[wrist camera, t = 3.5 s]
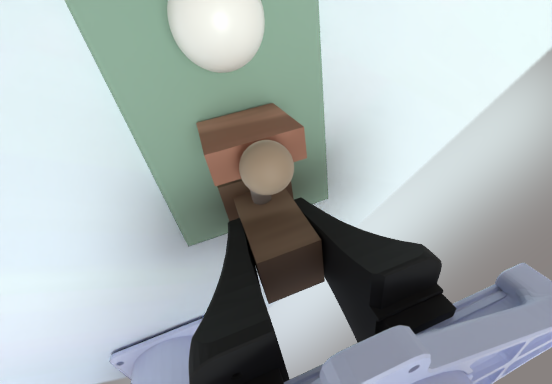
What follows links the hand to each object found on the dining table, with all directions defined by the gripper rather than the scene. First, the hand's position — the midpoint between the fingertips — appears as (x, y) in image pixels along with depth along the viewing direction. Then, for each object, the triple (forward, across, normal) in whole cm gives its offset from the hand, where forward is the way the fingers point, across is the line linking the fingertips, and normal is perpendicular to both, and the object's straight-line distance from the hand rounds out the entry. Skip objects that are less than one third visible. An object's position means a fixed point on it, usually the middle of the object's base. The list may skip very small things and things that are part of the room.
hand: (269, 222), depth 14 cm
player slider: (+3, 0, -2) cm, 3 cm away
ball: (+1, 0, -9) cm, 9 cm away
